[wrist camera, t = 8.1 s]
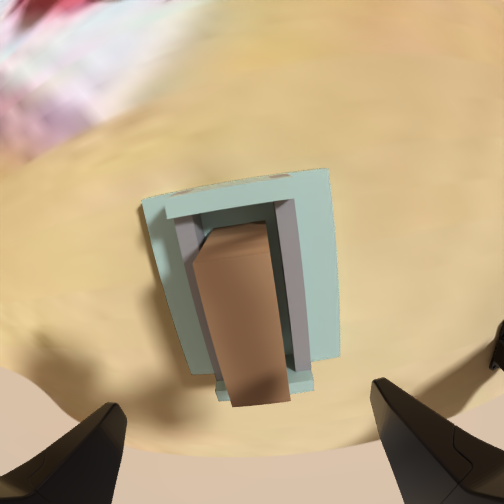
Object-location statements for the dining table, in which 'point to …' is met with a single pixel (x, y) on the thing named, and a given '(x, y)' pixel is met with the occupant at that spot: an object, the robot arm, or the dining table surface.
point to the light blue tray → (282, 257)
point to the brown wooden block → (243, 313)
